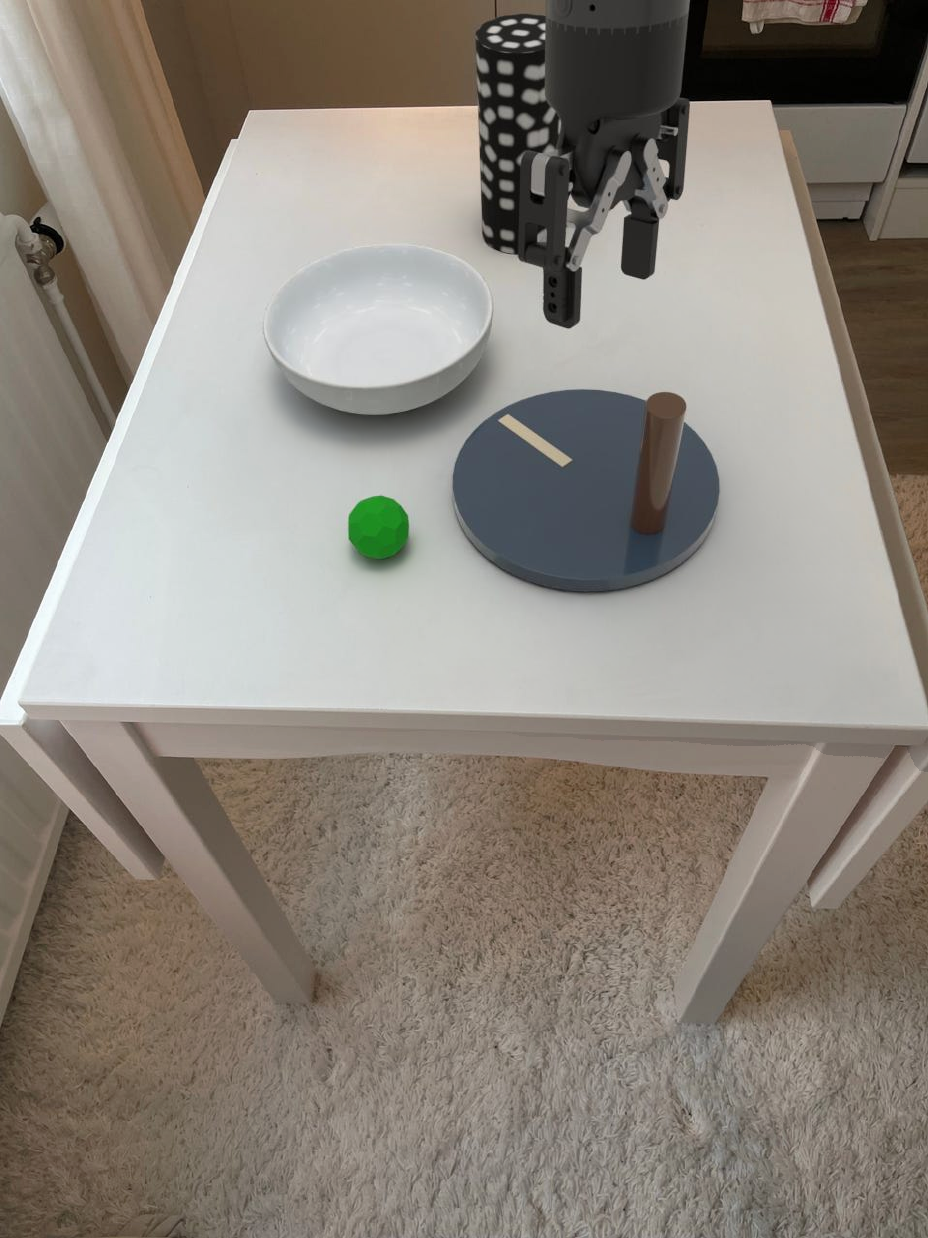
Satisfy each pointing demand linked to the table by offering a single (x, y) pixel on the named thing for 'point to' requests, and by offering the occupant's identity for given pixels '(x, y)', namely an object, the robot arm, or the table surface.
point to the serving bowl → (379, 327)
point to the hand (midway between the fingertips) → (601, 298)
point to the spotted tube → (510, 118)
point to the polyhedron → (378, 527)
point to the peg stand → (586, 488)
